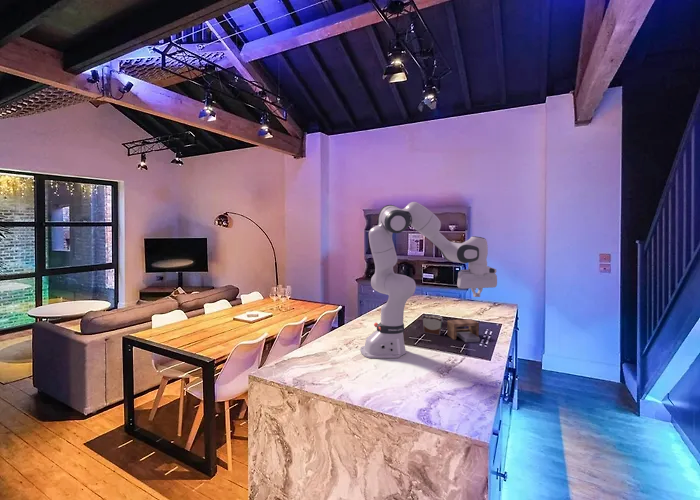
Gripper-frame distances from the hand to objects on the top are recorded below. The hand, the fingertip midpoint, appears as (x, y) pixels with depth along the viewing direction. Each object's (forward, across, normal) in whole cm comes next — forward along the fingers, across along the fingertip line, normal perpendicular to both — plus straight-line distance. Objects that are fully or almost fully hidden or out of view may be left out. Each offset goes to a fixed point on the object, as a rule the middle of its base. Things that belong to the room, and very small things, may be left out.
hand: (476, 296), depth 181 cm
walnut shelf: (+27, +5, +21) cm, 35 cm away
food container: (+27, -8, +31) cm, 42 cm away
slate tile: (+28, +6, +17) cm, 33 cm away
